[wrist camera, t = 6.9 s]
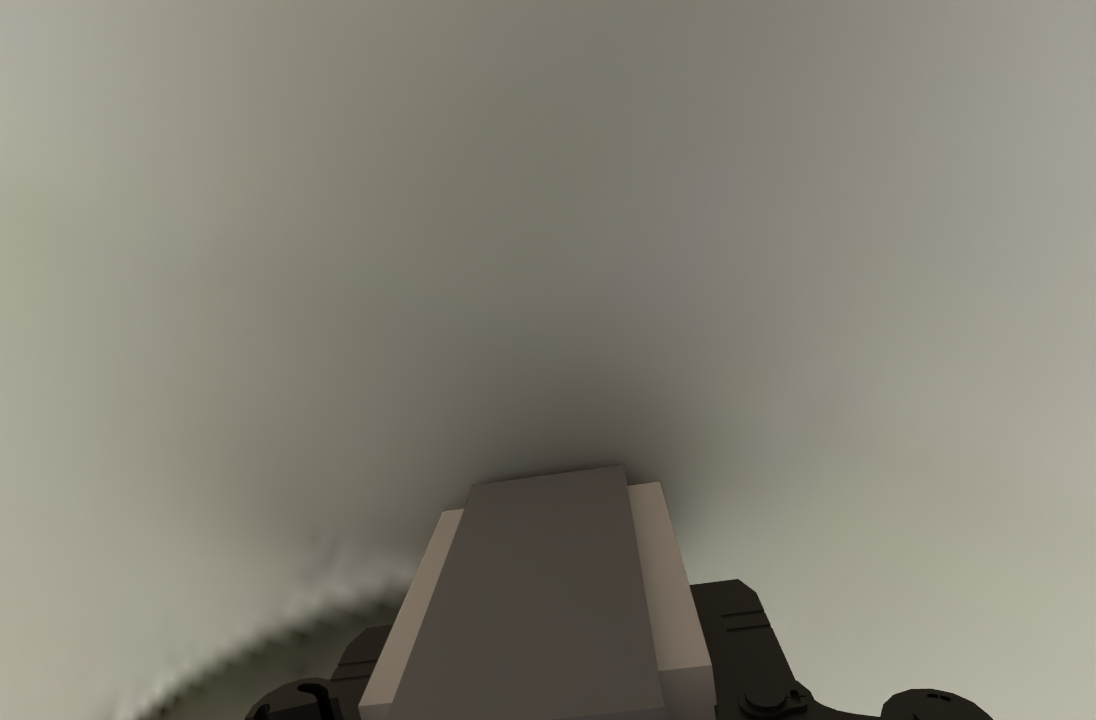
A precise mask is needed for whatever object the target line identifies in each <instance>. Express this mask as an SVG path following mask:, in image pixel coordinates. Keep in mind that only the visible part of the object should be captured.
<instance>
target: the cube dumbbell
mask: <svg viewBox="0 0 1096 720" xmlns="http://www.w3.org/2000/svg"><path fill="white" fill-rule="evenodd" d="M386 720H666V714H665V708H664V702H663V696H662V690H661V684H660V678H659V672H658V666H657V660H656V654H655V648H654V642H653V636H652V630H651V624H650V618H649V612H648V606H647V600H646V594H645V588H644V582H643V576H642V570H641V564H640V558H639V552H638V546H637V540H636V534H635V528H634V522H633V516H632V510H631V504H630V498H629V492H628V486H627V481H626V475H625V469H624V465H616V466H609V467H602V468H595V469H587V470H580V471H573V472H565V473H558V474H551V475H544V476H536V477H529V478H522V479H514V480H507V481H500V482H493V483H485V484H478V485H473V487H472V489H471V492H470V495H469V497H468V500H467V503H466V505H465V508H464V511H463V514H462V516H461V519H460V522H459V524H458V527H457V530H456V532H455V535H454V538H453V540H452V543H451V546H450V548H449V551H448V554H447V557H446V559H445V562H444V565H443V567H442V570H441V573H440V575H439V578H438V581H437V583H436V586H435V589H434V592H433V594H432V597H431V600H430V602H429V605H428V608H427V610H426V613H425V616H424V618H423V621H422V624H421V626H420V629H419V632H418V635H417V637H416V640H415V643H414V645H413V648H412V651H411V653H410V656H409V659H408V661H407V664H406V667H405V670H404V672H403V675H402V678H401V680H400V683H399V686H398V688H397V691H396V694H395V696H394V699H393V702H392V704H391V707H390V710H389V713H388V715H387V718H386Z"/></svg>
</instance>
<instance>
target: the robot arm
mask: <svg viewBox="0 0 1096 720" xmlns="http://www.w3.org/2000/svg"><path fill="white" fill-rule="evenodd" d="M628 492H629V498H630V504H631V510H632V516H633V522H634V528H635V534H636V540H637V546H638V552H639V558H640V564H641V570H642V576H643V582H644V588H645V594H646V600H647V606H648V612H649V618H650V624H651V630H652V636H653V642H654V648H655V654H656V660H657V666H658V672H659V678H660V684H661V690H662V696H663V702H664V708H665V714H666V720H993V719H992V718H991V717H990V716H989V715H988V714H987V713H986V712H984V711H983V710H982V709H981V708H980V707H978V706H977V705H976V704H975V703H973V702H971V701H969V700H967V699H965V698H962V697H960V696H958V695H956V694H954V693H949V692H945V691H940V690H935V689H910V690H907V691H904V692H901V693H897V694H894V695H893V696H892V697H891V698H890V699H889V700H888V701H886V702H885V703H884V704H883V708H882V712H881V716H880V717H875V716H867V715H859V714H852V713H847V712H842V711H837V710H835V709H832V708H829V707H827V706H824V705H822V704H820V703H819V702H817V701H815V700H814V698H813V696H812V694H811V692H810V691H809V690H808V689H807V688H805V687H804V686H803V685H802V684H801V683H799V682H798V681H796V680H795V678H794V676H793V674H792V671H791V669H790V667H789V665H788V662H787V660H786V658H785V656H784V654H783V651H782V649H781V647H780V645H779V642H778V640H777V638H776V636H775V633H774V631H773V629H772V628H771V625H770V622H769V620H768V618H767V616H766V613H764V609H763V607H762V604H761V602H760V600H759V598H758V596H757V593H756V592H755V591H753V590H752V589H751V588H749V587H748V586H747V585H745V584H744V583H743V582H741V581H740V580H739V579H735V580H727V581H719V582H711V583H703V584H695V585H689V583H688V579H687V576H686V572H685V569H684V565H683V562H682V558H681V555H680V551H679V548H678V544H677V541H676V537H675V534H674V530H673V527H672V523H671V519H670V516H669V512H668V509H667V505H666V502H665V498H664V495H663V491H662V488H661V484H660V482H652V483H645V484H638V485H630V486H628ZM463 511H464V509H457V510H449V511H443V512H442V514H441V517H440V519H439V521H438V524H437V526H436V528H435V531H434V533H433V535H432V537H431V540H430V542H429V544H428V547H427V549H426V551H425V554H424V556H423V558H422V560H421V563H420V565H419V567H418V570H417V572H416V574H415V577H414V579H413V581H412V583H411V586H410V588H409V590H408V593H407V595H406V597H405V600H404V602H403V604H402V606H401V609H400V611H399V613H398V616H397V618H396V620H395V623H394V625H387V626H379V627H371V628H366V629H365V630H364V631H363V632H362V633H361V634H360V635H358V636H357V637H356V638H355V639H354V640H353V641H352V642H351V643H350V644H349V645H348V646H347V648H346V650H345V652H344V654H343V656H342V657H341V659H340V661H339V663H338V668H336V669H335V671H334V673H333V675H332V677H331V679H330V680H327V679H322V678H317V677H316V678H307V679H300V680H297V681H294V682H291V683H288V684H285V685H282V686H281V687H279V688H277V689H275V690H273V691H272V692H270V693H268V694H266V695H265V696H264V697H263V698H262V699H261V700H259V701H258V702H257V703H256V704H255V705H254V706H253V707H252V708H251V710H250V711H249V713H248V714H247V716H246V717H245V720H386V718H387V715H388V713H389V710H390V707H391V704H392V702H393V699H394V696H395V694H396V691H397V688H398V686H399V683H400V680H401V678H402V675H403V672H404V670H405V667H406V664H407V661H408V659H409V656H410V653H411V651H412V648H413V645H414V643H415V640H416V637H417V635H418V632H419V629H420V626H421V624H422V621H423V618H424V616H425V613H426V610H427V608H428V605H429V602H430V600H431V597H432V594H433V592H434V589H435V586H436V583H437V581H438V578H439V575H440V573H441V570H442V567H443V565H444V562H445V559H446V557H447V554H448V551H449V548H450V546H451V543H452V540H453V538H454V535H455V532H456V530H457V527H458V524H459V522H460V519H461V516H462V514H463Z"/></svg>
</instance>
